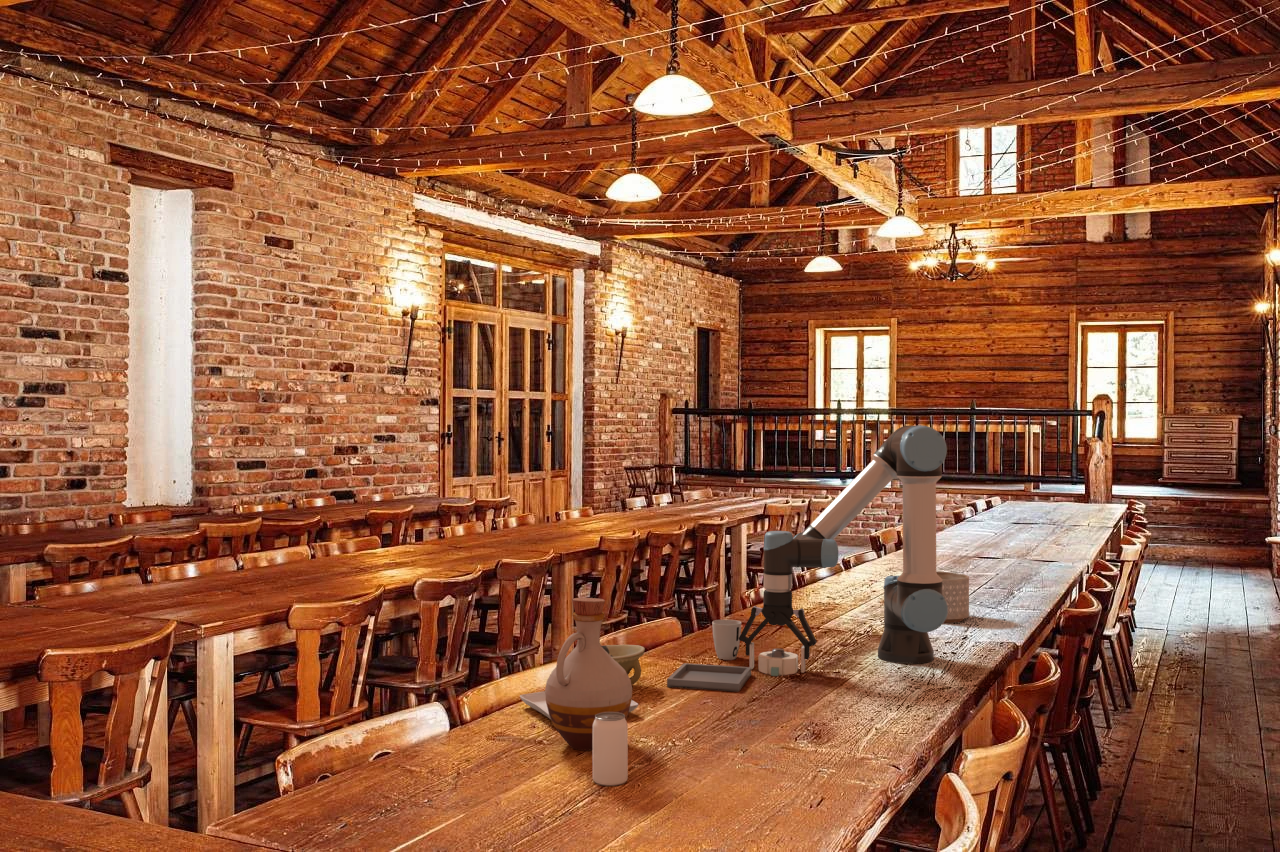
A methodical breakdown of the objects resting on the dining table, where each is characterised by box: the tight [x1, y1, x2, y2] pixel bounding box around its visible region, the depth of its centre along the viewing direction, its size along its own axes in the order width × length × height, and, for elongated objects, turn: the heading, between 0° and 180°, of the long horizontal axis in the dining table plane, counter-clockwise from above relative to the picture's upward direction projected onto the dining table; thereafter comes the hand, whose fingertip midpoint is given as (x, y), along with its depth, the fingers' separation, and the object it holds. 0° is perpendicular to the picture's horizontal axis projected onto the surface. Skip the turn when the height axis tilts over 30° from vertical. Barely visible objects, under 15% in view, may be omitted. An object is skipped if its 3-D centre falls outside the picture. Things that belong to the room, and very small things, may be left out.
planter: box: [936, 571, 970, 624], centre depth 359 cm, size 19×19×14 cm
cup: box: [711, 619, 742, 661], centre depth 300 cm, size 8×8×10 cm
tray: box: [666, 662, 752, 693], centre depth 274 cm, size 18×18×2 cm
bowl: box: [601, 644, 646, 686], centre depth 268 cm, size 18×18×10 cm
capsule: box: [771, 648, 785, 658], centre depth 285 cm, size 3×3×6 cm
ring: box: [757, 650, 799, 677], centre depth 284 cm, size 10×12×4 cm
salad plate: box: [519, 690, 639, 720], centre depth 245 cm, size 21×21×3 cm
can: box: [592, 712, 629, 787], centre depth 198 cm, size 6×6×12 cm
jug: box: [544, 597, 633, 751], centre depth 219 cm, size 20×18×30 cm
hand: (777, 669), depth 285 cm, fingers open, 13 cm apart
